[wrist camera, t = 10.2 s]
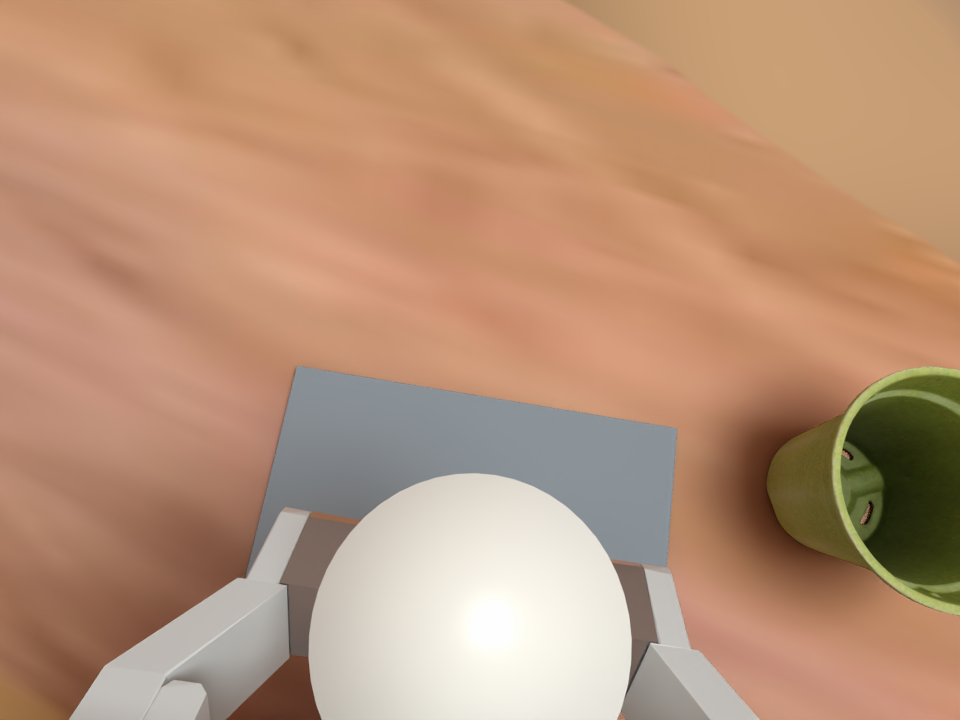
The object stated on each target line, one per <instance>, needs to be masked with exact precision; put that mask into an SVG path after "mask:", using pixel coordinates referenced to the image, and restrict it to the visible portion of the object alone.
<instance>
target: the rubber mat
mask: <svg viewBox="0 0 960 720" xmlns="http://www.w3.org/2000/svg"><path fill="white" fill-rule="evenodd" d="M676 439H677V428H672V427H666V426H660V425H654V424H648V423H641V422H635V421H629V420H623V419H617V418H611V417H605V416H599V415H593V414H587V413H581V412H575V411H568V410H562V409H556V408H550V407H544V406H538V405H532V404H526V403H520V402H514V401H508V400H502V399H495V398H489V397H483V396H477V395H471V394H465V393H459V392H453V391H447V390H441V389H435V388H429V387H423V386H416V385H410V384H404V383H398V382H392V381H386V380H380V379H374V378H368V377H362V376H356V375H350V374H343V373H337V372H331V371H325V370H319V369H313V368H307V367H301V366H297V368H296V372H295V376H294V380H293V384H292V388H291V392H290V397H289V401H288V405H287V409H286V413H285V417H284V421H283V425H282V429H281V433H280V437H279V442H278V446H277V450H276V454H275V458H274V462H273V466H272V470H271V474H270V478H269V483H268V487H267V491H266V495H265V499H264V503H263V507H262V511H261V515H260V519H259V524H258V528H257V532H256V536H255V540H254V544H253V548H252V552H251V556H250V560H249V564H248V569H247V573H246V577H247V575H248V573H249V572H250V570H251V568H252V566H253V564H254V562H255V560H256V558H257V556H258V554H259V552H260V550H261V548H262V546H263V544H264V542H265V540H266V538H267V536H268V534H269V532H270V530H271V528H272V526H273V525H274V523H275V521H276V519H277V517H278V515H279V513H280V512H281V511H282V510H283V509H284V508H285V507H289V508H295V509H300V510H306V511H311V512H313V511H314V512H319V513H324V514H330V515H335V516H341V517H346V518H351V519H357V520H362V519H363V518H364V517H365V516H366V515H368V514H369V513H370V512H371V511H372V510H374V509H375V508H376V507H377V506H378V505H380V504H381V503H382V502H384V501H385V500H387V499H389V498H390V497H392V496H393V495H395V494H397V493H398V492H400V491H402V490H404V489H406V488H409V487H411V486H413V485H415V484H417V483H420V482H424V481H427V480H430V479H433V478H436V477H442V476H447V475H453V474H468V473H479V474H490V475H498V476H502V477H506V478H511V479H515V480H518V481H520V482H523V483H526V484H528V485H531V486H534V487H536V488H537V489H539V490H541V491H543V492H545V493H547V494H549V495H551V496H552V497H554V498H555V499H556V500H558V501H559V502H561V503H562V504H564V505H565V506H566V507H568V508H569V509H570V510H571V511H572V512H573V513H574V514H575V515H576V516H578V517H579V518H580V519H581V520H582V521H583V522H584V523H585V525H586V526H587V527H588V528H589V529H590V530H591V532H592V533H593V534H594V535H595V536H596V538H597V539H598V541H599V542H600V544H601V545H602V547H603V548H604V550H605V551H606V553H607V554H608V556H609V558H610V559H615V560H621V561H628V562H635V563H639V564H647V565H654V566H660V567H667V557H668V544H669V531H670V517H671V504H672V491H673V478H674V465H675V452H676ZM246 577H245V579H246Z"/></svg>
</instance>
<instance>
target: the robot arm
mask: <svg viewBox="0 0 960 720" xmlns="http://www.w3.org/2000/svg"><path fill="white" fill-rule="evenodd" d="M360 521H361V520H357V519H351V518H346V517H341V516H335V515H330V514H324V513H319V512H314V511H313V512H311V511H306V510H300V509H295V508H289V507H285V508H284V509H283V510H282V511H281V512H280V513H279V515H278V517H277V519H276V521H275V523H274V525H273V526H272V528H271V530H270V532H269V534H268V536H267V538H266V540H265V542H264V544H263V546H262V548H261V550H260V552H259V554H258V556H257V558H256V560H255V562H254V564H253V566H252V568H251V570H250V572H249V573H248V575H247V577H246V579H244V578H236V579H235V580H233V581H232V582H230V583H229V584H227V585H226V586H224V587H223V588H221V589H220V590H218V591H217V592H215V593H214V594H212V595H211V596H209V597H207V598H206V599H204V600H203V601H201V602H200V603H198V604H197V605H195V606H194V607H192V608H191V609H189V610H188V611H186V612H185V613H183V614H182V615H180V616H179V617H177V618H176V619H174V620H173V621H171V622H170V623H168V624H167V625H165V626H164V627H162V628H161V629H159V630H158V631H156V632H155V633H153V634H152V635H150V636H149V637H147V638H146V639H144V640H143V641H141V642H140V643H138V644H137V645H135V646H134V647H132V648H131V649H129V650H128V651H126V652H125V653H123V654H121V655H120V656H118V657H117V658H115V659H114V660H112V661H111V662H109V663H108V664H106V665H105V666H104V667H103V669H102V670H101V672H100V673H99V675H98V676H97V678H96V679H95V681H94V682H93V684H92V686H91V687H90V689H89V690H88V692H87V693H86V695H85V696H84V698H83V699H82V701H81V702H80V704H79V705H78V707H77V708H76V710H75V711H74V713H73V714H72V716H71V717H70V719H69V720H226V719H227V718H228V717H229V716H230V715H231V714H232V713H233V712H234V711H235V710H236V709H237V708H238V707H239V706H240V705H241V704H242V703H243V702H244V701H245V700H246V699H247V698H248V697H250V696H251V695H252V694H253V693H254V692H255V691H256V690H257V689H258V688H259V687H260V686H261V685H262V684H263V683H264V682H265V681H266V680H267V679H268V678H269V677H270V676H271V675H272V674H273V673H274V672H275V671H276V670H277V669H279V668H280V667H281V666H282V665H283V664H284V663H285V662H286V661H287V660H288V659H289V655H295V656H303V657H309V632H310V625H311V618H312V612H313V608H314V604H315V601H316V597H317V593H318V590H319V587H320V585H321V582H322V580H323V577H324V575H325V572H326V570H327V568H328V566H329V564H330V563H331V561H332V559H333V557H334V555H335V554H336V552H337V550H338V549H339V547H340V546H341V544H342V543H343V542H344V540H345V539H346V538H347V536H348V535H349V533H350V532H351V531H352V530H353V529H354V528H355V527H356V526H357V525H358V524H359V523H360ZM610 560H611V562H612V564H613V566H614V569H615V571H616V573H617V575H618V578H619V580H620V583H621V586H622V589H623V592H624V595H625V599H626V604H627V608H628V613H629V618H630V628H631V638H632V646H631V667H630V674H629V681H628V686H627V690H626V694H625V698H624V701H623V705H622V708H621V712H622V714H623V715H624V717H625V719H626V720H760V719H759V718H758V717H757V716H756V715H755V714H754V712H753V711H752V710H751V709H750V708H749V707H748V706H747V704H746V703H745V702H744V701H743V700H742V699H741V698H740V696H739V695H738V694H737V693H736V692H735V691H734V690H733V688H732V687H731V686H730V685H729V684H728V683H727V682H726V680H725V679H724V678H723V677H722V676H721V675H720V674H719V672H718V671H717V670H716V669H715V668H714V667H713V666H712V664H711V663H710V662H709V661H708V660H707V659H706V658H705V656H704V655H703V654H702V653H701V652H700V651H699V650H694V649H691V647H690V643H689V639H688V635H687V631H686V627H685V623H684V619H683V615H682V612H681V608H680V604H679V600H678V596H677V592H676V588H675V584H674V580H673V576H672V573H671V571H670V570H669V569H668V568H667V567H660V566H654V565H647V564H639V563H635V562H628V561H621V560H615V559H610Z"/></svg>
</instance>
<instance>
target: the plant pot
mask: <svg viewBox="0 0 960 720" xmlns="http://www.w3.org/2000/svg"><path fill="white" fill-rule="evenodd" d="M843 448H844V449H845V450H847V451H848V452H849V453H850V454H851V455H852V456H853V460H848V459H847V458H846V457H844V456H843V455H842V449H843ZM767 492H768V495H769V498H770V500H771V503H772V505H773V509H774V511H775V514H776V517H777V520H778V522H779V523H780V524H781V526H782V527H783V529H784V530H785V531H786V532H787V533H788V534H789V535H790V536H792V537H793V538H794V539H795V540H797V541H798V542H800V543H801V544H803V545H805V546H807V547H809V548H811V549H814V550H817V551H819V552H822V553H825V554H827V555H830V556H833V557H836V558H839V559H842V560H845V561H848V562H850V563H853V564H856V565H858V566H861V567H864V568H866V569H869V570H872V571H873V572H874V573H875V574H876V575H877V576H878V577H879V578H880V579H881V580H882V581H883V582H885V583H886V584H887V585H889V586H890V587H891V588H893V589H894V590H895V591H897V592H898V593H900V594H902V595H904V596H905V597H907V598H909V599H911V600H912V601H915V602H917V603H919V604H921V605H924V606H926V607H929V608H932V609H935V610H938V611H941V612H945V613H949V614H953V615H958V616H960V370H957V369H952V368H944V367H917V368H912V369H907V370H903V371H899V372H896V373H893V374H891V375H888V376H886V377H884V378H882V379H880V380H878V381H876V382H875V383H873V384H871V385H870V386H869V387H867V388H866V389H865V390H863V391H862V392H861V393H860V394H859V395H858V396H857V397H856V398H855V399H854V400H853V401H852V402H851V404H850V405H849V406H848V408H847V409H846V411H845V412H844V414H842V415H840V416H837V417H835V418H833V419H831V420H829V421H827V422H825V423H823V424H821V425H819V426H817V427H815V428H813V429H810V430H808V431H806V432H804V433H802V434H800V435H798V436H796V437H794V438H792V439H791V440H789V441H788V442H787V443H785V444H784V445H783V446H782V447H781V448H780V449H779V450H778V451H777V453H776V454H775V456H774V457H773V459H772V462H771V464H770V467H769V471H768V475H767ZM869 501H871V502H872V504H873V510H872V514H871V516H870V519H869V521H868V523H867V524H865V525H862V524H860V521H861V519H862V517H863V515H864V514H865V513H866V510H867V508H868V503H869Z"/></svg>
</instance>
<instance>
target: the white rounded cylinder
mask: <svg viewBox="0 0 960 720" xmlns="http://www.w3.org/2000/svg"><path fill="white" fill-rule="evenodd" d="M631 646H632V638H631V628H630V618H629V613H628V608H627V604H626V599H625V595H624V592H623V589H622V586H621V583H620V580H619V578H618V575H617V573H616V571H615V569H614V566H613V564H612V562H611V560H610V558H609V556H608V554H607V553H606V551H605V550H604V548H603V547H602V545H601V544H600V542H599V541H598V539H597V538H596V536H595V535H594V534H593V533H592V532H591V530H590V529H589V528H588V527H587V526H586V525H585V523H584V522H583V521H582V520H581V519H580V518H579V517H578V516H576V515H575V514H574V513H573V512H572V511H571V510H570V509H569V508H568V507H566V506H565V505H564V504H562V503H561V502H559V501H558V500H556V499H555V498H554V497H552V496H551V495H549V494H547V493H545V492H543V491H541V490H539V489H537V488H536V487H534V486H531V485H528V484H526V483H523V482H520V481H518V480H515V479H511V478H506V477H502V476H498V475H490V474H479V473H468V474H453V475H447V476H442V477H436V478H433V479H430V480H427V481H424V482H420V483H417V484H415V485H413V486H411V487H409V488H406V489H404V490H402V491H400V492H398V493H397V494H395V495H393V496H392V497H390V498H389V499H387V500H385V501H384V502H382V503H381V504H380V505H378V506H377V507H376V508H375V509H374V510H372V511H371V512H370V513H369V514H368V515H366V516H365V517H364V518H363V519H362V520H361V521H360V523H359V524H358V525H357V526H356V527H355V528H354V529H353V530H352V531H351V532H350V533H349V535H348V536H347V538H346V539H345V540H344V542H343V543H342V544H341V546H340V547H339V549H338V550H337V552H336V554H335V555H334V557H333V559H332V561H331V563H330V564H329V566H328V568H327V570H326V572H325V575H324V577H323V580H322V582H321V585H320V587H319V590H318V593H317V597H316V601H315V604H314V608H313V612H312V618H311V625H310V632H309V668H310V678H311V684H312V689H313V693H314V697H315V702H316V705H317V708H318V711H319V714H320V716H321V719H322V720H617V718H618V716H619V713H620V711H621V708H622V705H623V701H624V698H625V694H626V690H627V686H628V681H629V674H630V667H631Z"/></svg>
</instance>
